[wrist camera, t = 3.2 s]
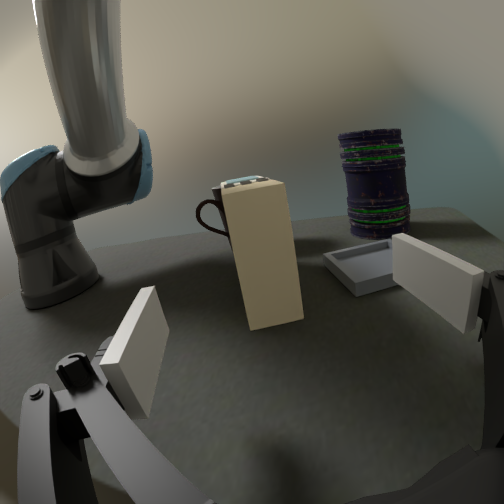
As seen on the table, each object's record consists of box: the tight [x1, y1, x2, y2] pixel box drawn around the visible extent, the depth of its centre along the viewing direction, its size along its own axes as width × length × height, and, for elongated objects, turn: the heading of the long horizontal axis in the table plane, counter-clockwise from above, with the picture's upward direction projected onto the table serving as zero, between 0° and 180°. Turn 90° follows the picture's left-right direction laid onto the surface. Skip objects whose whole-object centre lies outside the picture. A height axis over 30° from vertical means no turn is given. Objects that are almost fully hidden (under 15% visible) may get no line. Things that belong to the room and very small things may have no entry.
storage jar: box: [338, 129, 410, 240], centre depth 41 cm, size 10×10×15 cm
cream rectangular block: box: [221, 178, 304, 331], centre depth 25 cm, size 4×6×11 cm
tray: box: [323, 239, 399, 297], centre depth 30 cm, size 9×9×1 cm
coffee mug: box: [196, 177, 267, 251], centre depth 45 cm, size 12×9×10 cm
